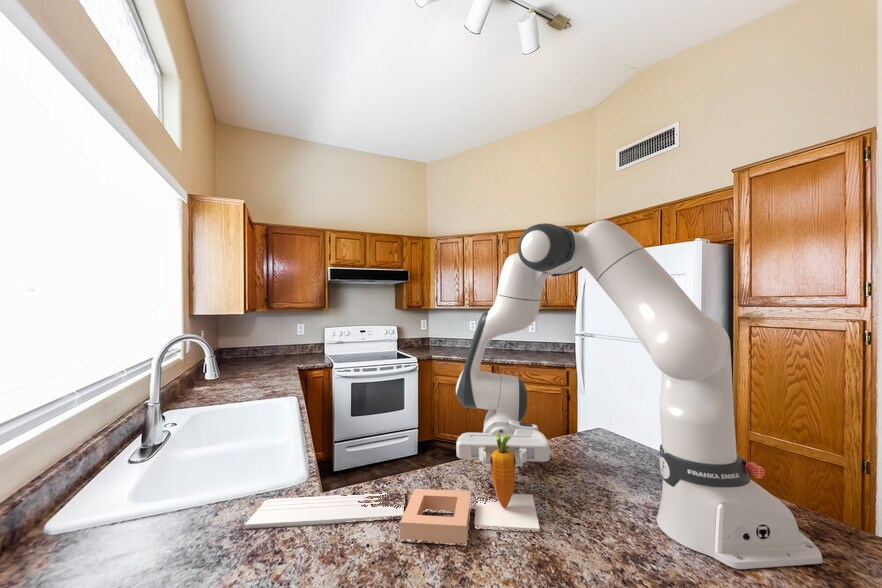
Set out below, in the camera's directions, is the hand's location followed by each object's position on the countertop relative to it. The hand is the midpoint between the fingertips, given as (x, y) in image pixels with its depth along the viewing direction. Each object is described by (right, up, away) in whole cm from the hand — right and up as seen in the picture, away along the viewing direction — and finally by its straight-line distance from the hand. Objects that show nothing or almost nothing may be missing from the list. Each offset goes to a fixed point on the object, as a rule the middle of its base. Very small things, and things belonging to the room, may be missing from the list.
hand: (503, 461), depth 71 cm
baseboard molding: (-36, -13, +4) cm, 38 cm away
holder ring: (-13, -11, -3) cm, 17 cm away
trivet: (+1, -11, 0) cm, 11 cm away
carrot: (0, -10, +1) cm, 10 cm away
